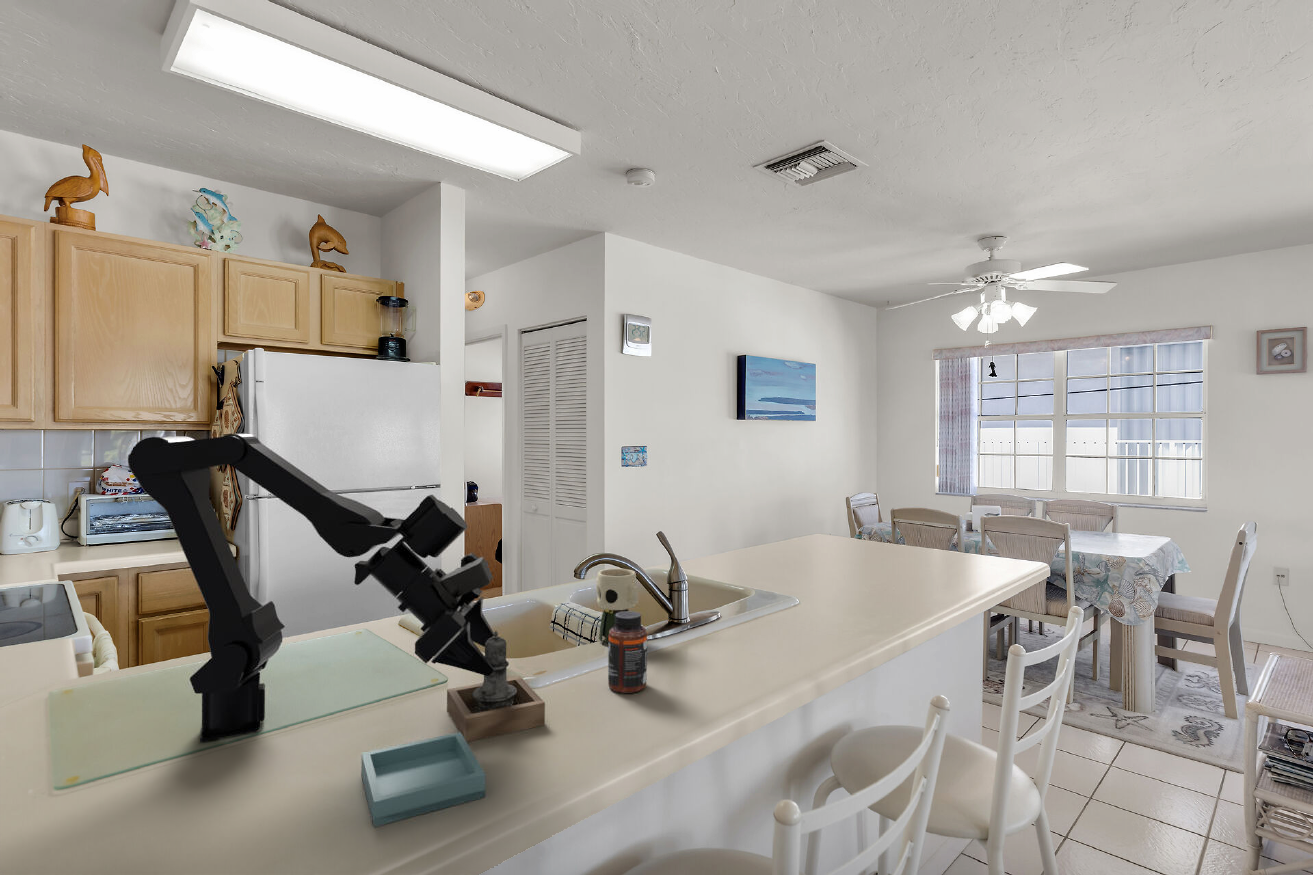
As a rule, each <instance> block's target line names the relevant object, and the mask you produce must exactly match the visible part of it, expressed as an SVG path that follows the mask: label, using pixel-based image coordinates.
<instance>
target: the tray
mask: <svg viewBox="0 0 1313 875" xmlns="http://www.w3.org/2000/svg"><path fill="white" fill-rule="evenodd" d="M360 763H361V767H360V768H361V773H360V774H361V779H362V782H363V787H364V791H365V795H366V800H367V804H368V809H369V812H370V815H371V820H372V826H373V827H375V828H376V827H380V826H383V825H387V824H389V823H394V822H398V821H401V820H405V819H408V818H412V817H413V818H414V817H416V816H421V815H424V814H426V813H431V812H434V811H438V810H442V809H446V808H449V807H453V806H456V805H461V804H464V803H467V802H468V803H469V802H472V801H475V800H479V799H483V798H485V797H486V772H485V771H484V770H483V768H482V766H481V764H480V762H479V761H478V759H477V757H476V756H475V754H474V752H473V751H472V749H471V747H470V745H469V744H468V742H466V741H465V739H464V737H463V735H462V734H461V732H459V731H458V732H453V733H449V734H444V735H439V736H436V737H431V738H425V739H422V740H421V739H420V740H417V741H412V742H406V743H402V744H398V745H397V744H396V745H392V746H388V747H384V748H379V749H375V750H374V749H373V750H370V751H366V752H361V762H360Z"/></svg>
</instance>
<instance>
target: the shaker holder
mask: <svg viewBox="0 0 1313 875" xmlns="http://www.w3.org/2000/svg"><path fill="white" fill-rule="evenodd" d="M506 678H507V677H506ZM507 683H508V684H509V685H512V686H514V687H515V688H516V689H517V693H516V694H515V696H514V701H515V702H516V703H517V704H515V705H511V706H509V707H505V708H500V709H495V710H490V711H485V712H482V711H480V712H476V713H471V711H470V710H473V709H479V708H478V707H477V704H476V702H475V698H474V697H473V692H474V691H475V690H476V689H477V688H479V687H481V686H482V685H483V682H480V683H475V684H470V685H465V686H464V685H463V686H459V687H453V688H452V687H451V688H448V689H446V712H447V713H448V714H449V717H450V718H451V720H452V721H453V723H454V725H455V727H456V729H457V730H458V732H461V734H462V735H463V737H464V739H465V741H466V742H467V743H469V742H474V741H479V740H482V739H487V738H490V737H491V738H492V737H495V736H496V737H497V736H500V735H505V734H509V733H514V732H518V731H523V730H527V729H532V728H537V727H541V726H544V725H545V723H546V721H545V719H546V713H545V712H546V702H545V701H544V700H543V699H542V698H541V697H540V696H539V695H538V694H537V693H536V691H535V690H534V689H533V688H532V687H531V686H530V685H529V684H528V682H526V681H525V680H524V679H523V678H522V677H521V676H514V677H513V676H512V677H508V678H507Z"/></svg>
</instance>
